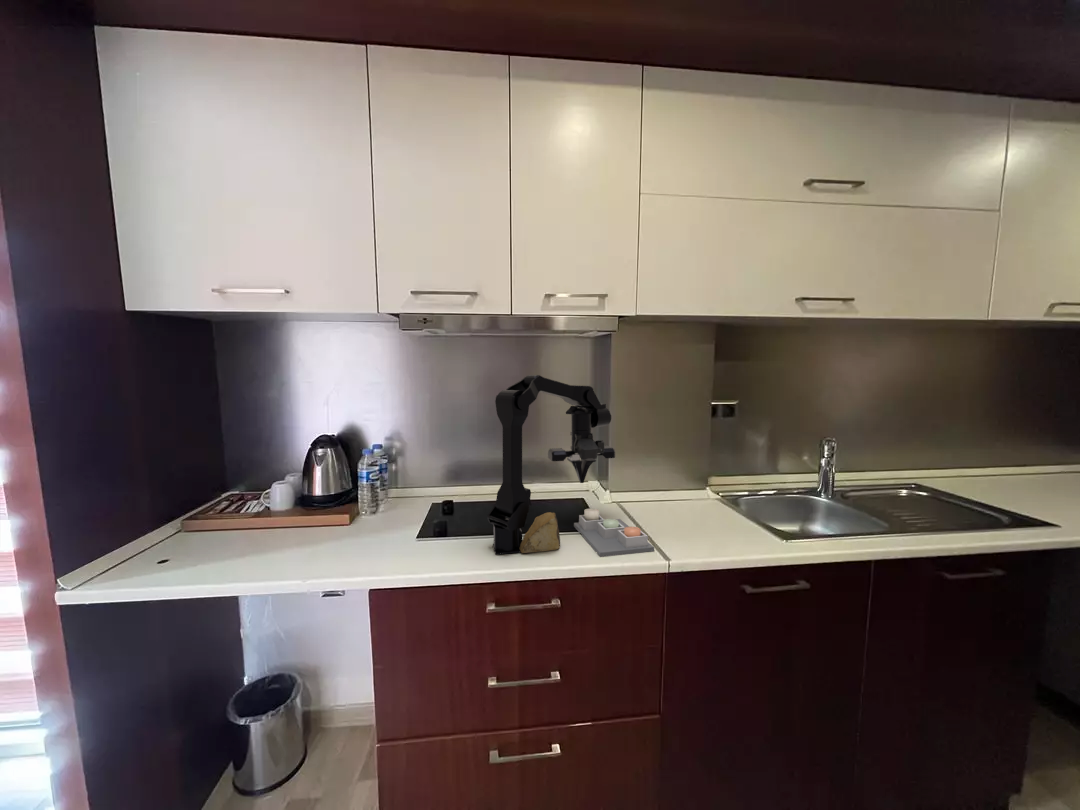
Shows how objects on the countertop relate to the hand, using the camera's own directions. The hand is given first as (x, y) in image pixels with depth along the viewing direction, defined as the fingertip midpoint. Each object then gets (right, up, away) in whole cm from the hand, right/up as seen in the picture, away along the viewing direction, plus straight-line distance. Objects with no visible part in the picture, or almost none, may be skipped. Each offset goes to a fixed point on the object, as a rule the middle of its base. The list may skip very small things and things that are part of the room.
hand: (581, 482), depth 132 cm
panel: (+7, -13, -11) cm, 18 cm away
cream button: (+2, -10, -5) cm, 11 cm away
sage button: (+7, -11, -11) cm, 17 cm away
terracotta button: (+11, -12, -17) cm, 24 cm away
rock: (-12, -14, -18) cm, 26 cm away
